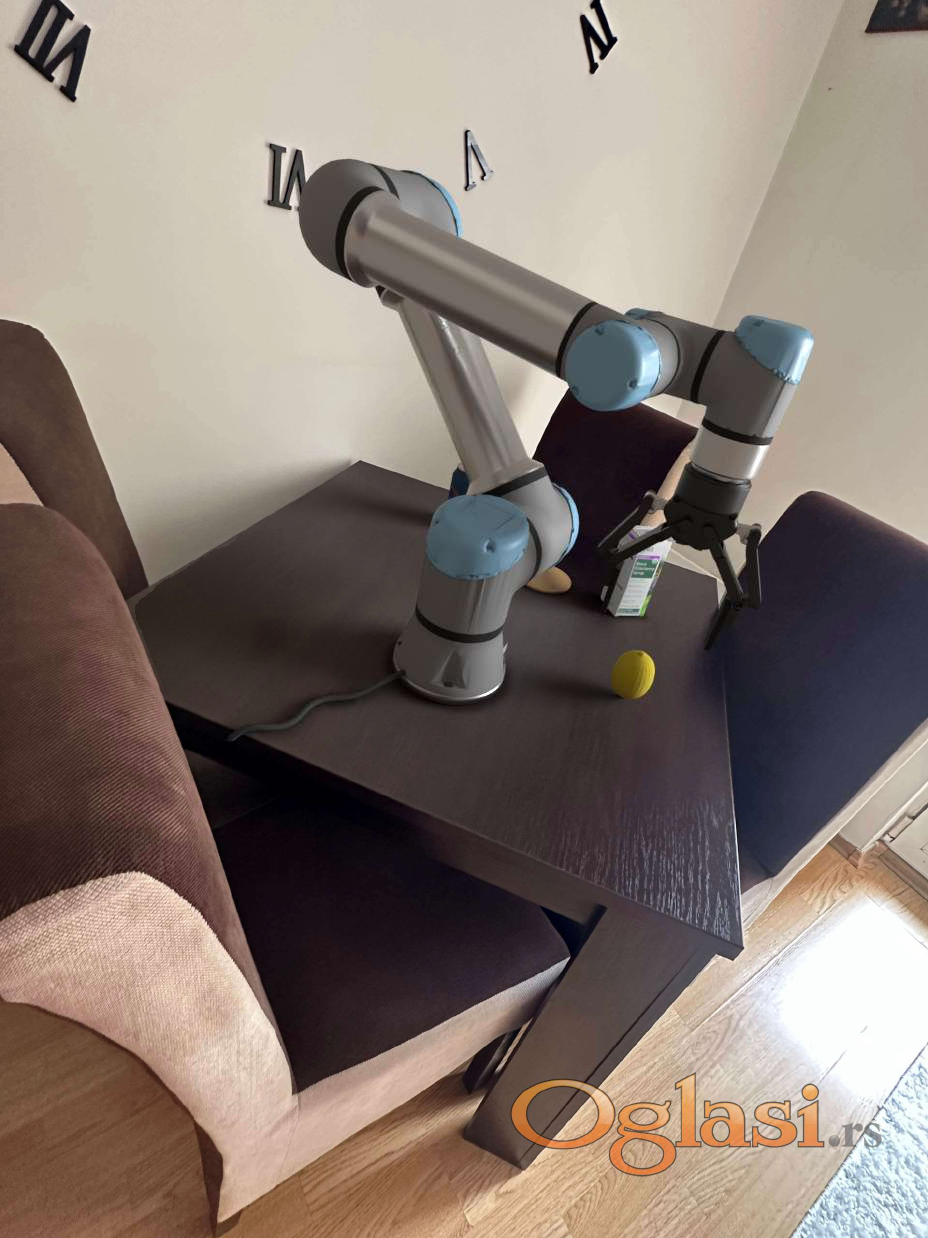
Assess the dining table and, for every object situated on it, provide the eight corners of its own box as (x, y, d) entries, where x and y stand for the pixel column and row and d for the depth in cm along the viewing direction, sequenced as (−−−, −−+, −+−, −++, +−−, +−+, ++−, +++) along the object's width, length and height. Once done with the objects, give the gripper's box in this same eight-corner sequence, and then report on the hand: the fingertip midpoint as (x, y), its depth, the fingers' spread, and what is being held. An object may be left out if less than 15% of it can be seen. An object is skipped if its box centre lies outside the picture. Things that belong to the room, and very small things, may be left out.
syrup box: (613, 617, 108) (643, 540, 100) (598, 597, 113) (625, 522, 105) (643, 617, 110) (674, 541, 102) (627, 597, 115) (655, 524, 107)
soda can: (439, 518, 127) (449, 459, 120) (472, 519, 129) (484, 462, 123) (448, 534, 122) (460, 474, 115) (483, 535, 124) (496, 477, 118)
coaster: (545, 599, 109) (545, 597, 109) (503, 570, 114) (504, 568, 114) (581, 585, 115) (582, 583, 115) (541, 559, 121) (541, 557, 120)
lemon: (639, 688, 93) (659, 644, 89) (644, 714, 88) (665, 668, 84) (602, 680, 93) (619, 635, 88) (605, 706, 88) (624, 659, 84)
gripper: (833, 494, 72) (753, 646, 84) (618, 430, 78) (570, 581, 90) (839, 516, 66) (752, 677, 78) (605, 445, 72) (556, 604, 84)
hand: (654, 626), depth 84 cm, fingers open, 13 cm apart
